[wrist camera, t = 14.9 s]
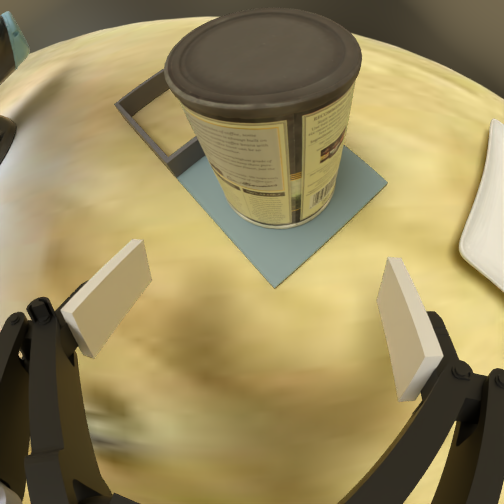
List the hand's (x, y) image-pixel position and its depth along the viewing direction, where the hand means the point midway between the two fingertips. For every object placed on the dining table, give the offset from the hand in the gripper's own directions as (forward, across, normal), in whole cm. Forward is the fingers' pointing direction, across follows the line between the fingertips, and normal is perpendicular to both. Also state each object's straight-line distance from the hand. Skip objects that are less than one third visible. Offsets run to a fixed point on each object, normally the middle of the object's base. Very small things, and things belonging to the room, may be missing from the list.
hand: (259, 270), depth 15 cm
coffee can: (+13, 0, +2) cm, 13 cm away
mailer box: (+17, -5, +5) cm, 18 cm away
